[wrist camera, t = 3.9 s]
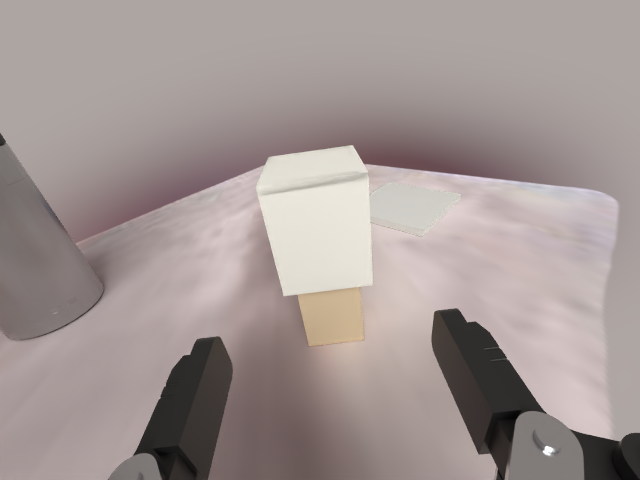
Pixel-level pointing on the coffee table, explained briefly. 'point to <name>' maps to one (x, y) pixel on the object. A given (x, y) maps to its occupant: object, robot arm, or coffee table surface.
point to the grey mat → (410, 207)
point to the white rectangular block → (318, 219)
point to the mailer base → (332, 316)
